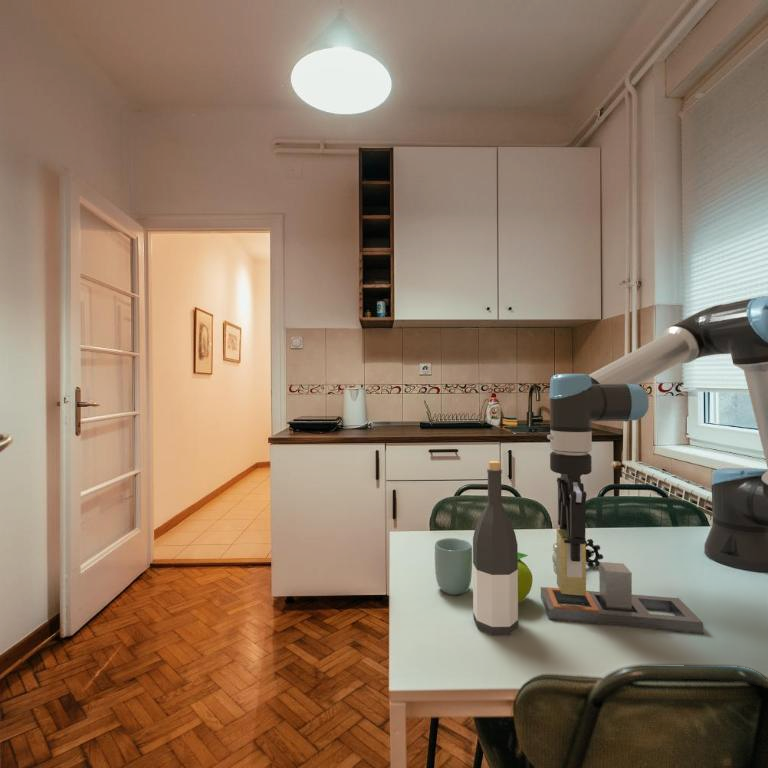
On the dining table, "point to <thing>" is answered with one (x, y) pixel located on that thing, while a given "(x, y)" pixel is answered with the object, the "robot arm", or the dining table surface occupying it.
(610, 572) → the grey rectangular block
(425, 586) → the dining table surface
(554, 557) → the valve
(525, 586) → the fruit
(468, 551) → the cup
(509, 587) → the wine bottle
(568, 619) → the grey compartment tray
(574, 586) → the brass block
